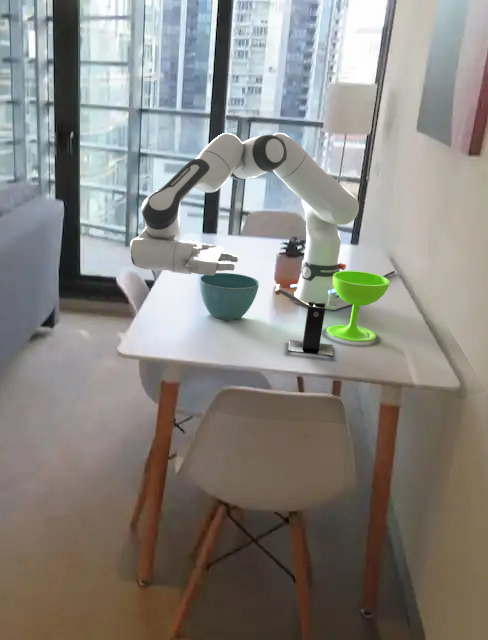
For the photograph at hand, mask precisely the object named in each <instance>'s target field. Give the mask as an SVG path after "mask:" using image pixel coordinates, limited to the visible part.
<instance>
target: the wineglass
mask: <svg viewBox="0 0 488 640" xmlns="http://www.w3.org/2000/svg"><path fill="white" fill-rule="evenodd" d="M383 276H384V275H380V274H377V273H372V272H366V271H358V270H340V272H336V273H334V274H333V285H334V289H335V291H336V293H337V294H338V296H339V297H340V298H341V299H343V300H344V301H345V302H347V303H349V304H351V305H352V307H351V314H350V320H349V324H335V325H330V326H328V327H327V328H326V332H327V333H328V334H329V335H330V336H333V337H334V338H336V339H340V340H344V341H350V342H369V341H370V342H371V341H373V340H375V339H376V338H377V334H376V333H375V332H374V331H372V330H370V329H368V328H366V327H365V328H364V327H361V326H358V325H357V324H358V323H357V322H358V317H359V311H360V307H361V306H369V305H372V304H373V303H377V301H378V300H380V299H381V298H382V297H383V296H384V295H385V294H386V292H387V290H388V289H389V286H390V283H391V281H390V279H388V278H387V277H383Z"/></svg>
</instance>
